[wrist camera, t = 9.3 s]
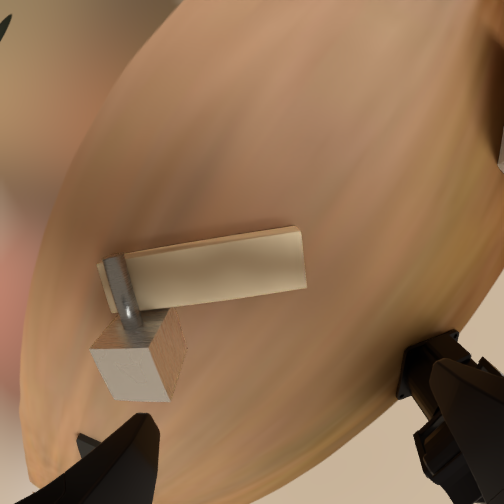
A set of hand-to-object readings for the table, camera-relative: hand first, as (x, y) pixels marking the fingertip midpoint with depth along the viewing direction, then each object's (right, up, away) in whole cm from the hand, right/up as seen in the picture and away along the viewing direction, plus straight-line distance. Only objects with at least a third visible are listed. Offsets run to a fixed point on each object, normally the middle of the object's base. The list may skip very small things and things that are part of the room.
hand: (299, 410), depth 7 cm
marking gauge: (-9, +1, +12) cm, 15 cm away
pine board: (-5, +4, +11) cm, 13 cm away
